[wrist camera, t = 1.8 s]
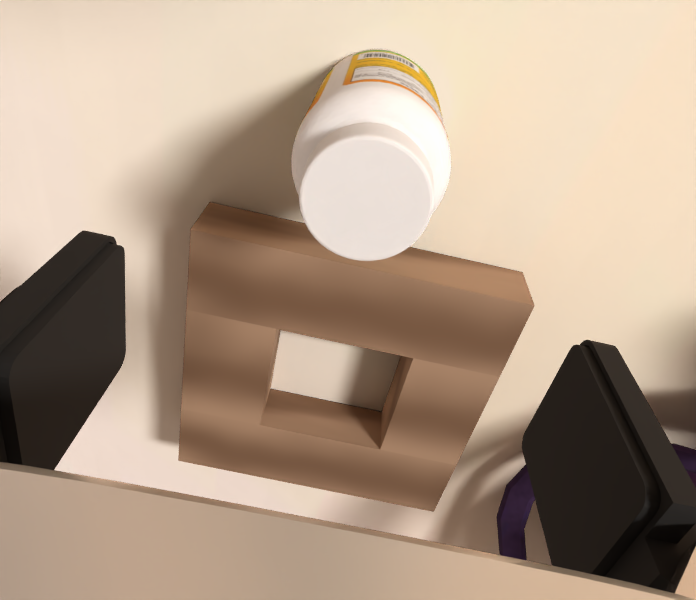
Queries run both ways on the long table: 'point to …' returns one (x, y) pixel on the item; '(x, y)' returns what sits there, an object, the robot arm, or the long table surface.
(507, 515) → the purple looped device
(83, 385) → the robot arm
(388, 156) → the supplement bottle
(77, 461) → the long table surface
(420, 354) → the socket block
